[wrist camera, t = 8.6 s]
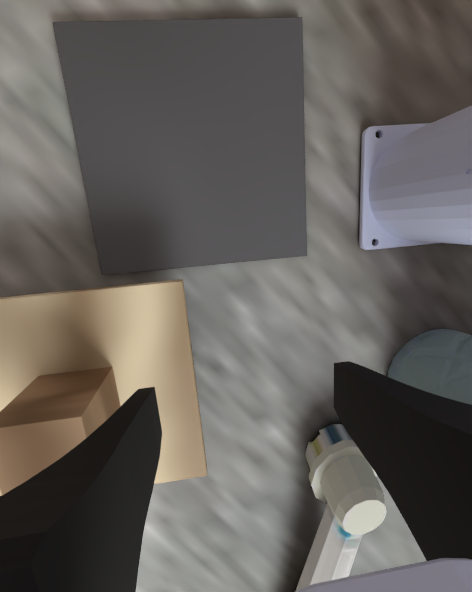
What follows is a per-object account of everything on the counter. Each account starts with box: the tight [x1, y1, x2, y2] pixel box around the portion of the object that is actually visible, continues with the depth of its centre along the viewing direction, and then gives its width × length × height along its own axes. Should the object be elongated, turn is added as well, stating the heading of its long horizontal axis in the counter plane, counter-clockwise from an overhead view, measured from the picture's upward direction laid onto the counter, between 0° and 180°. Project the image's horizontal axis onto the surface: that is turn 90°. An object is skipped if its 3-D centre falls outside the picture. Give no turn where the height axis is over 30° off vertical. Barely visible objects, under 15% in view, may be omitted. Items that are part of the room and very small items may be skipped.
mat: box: [53, 17, 307, 275], centre depth 19 cm, size 14×14×1 cm
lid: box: [0, 279, 207, 496], centre depth 15 cm, size 13×13×5 cm
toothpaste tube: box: [296, 424, 387, 591], centre depth 26 cm, size 5×7×25 cm
